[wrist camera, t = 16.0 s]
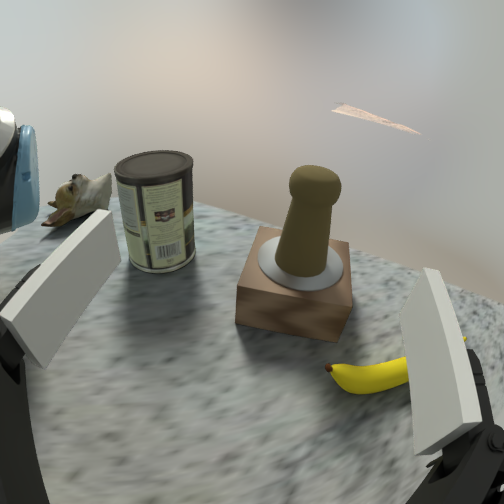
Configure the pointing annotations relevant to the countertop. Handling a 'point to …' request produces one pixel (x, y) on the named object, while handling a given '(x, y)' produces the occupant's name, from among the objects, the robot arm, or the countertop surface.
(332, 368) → the banana
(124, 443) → the countertop surface
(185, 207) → the coffee can
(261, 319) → the walnut plinth
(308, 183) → the cork
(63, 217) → the ceramic sculpture
